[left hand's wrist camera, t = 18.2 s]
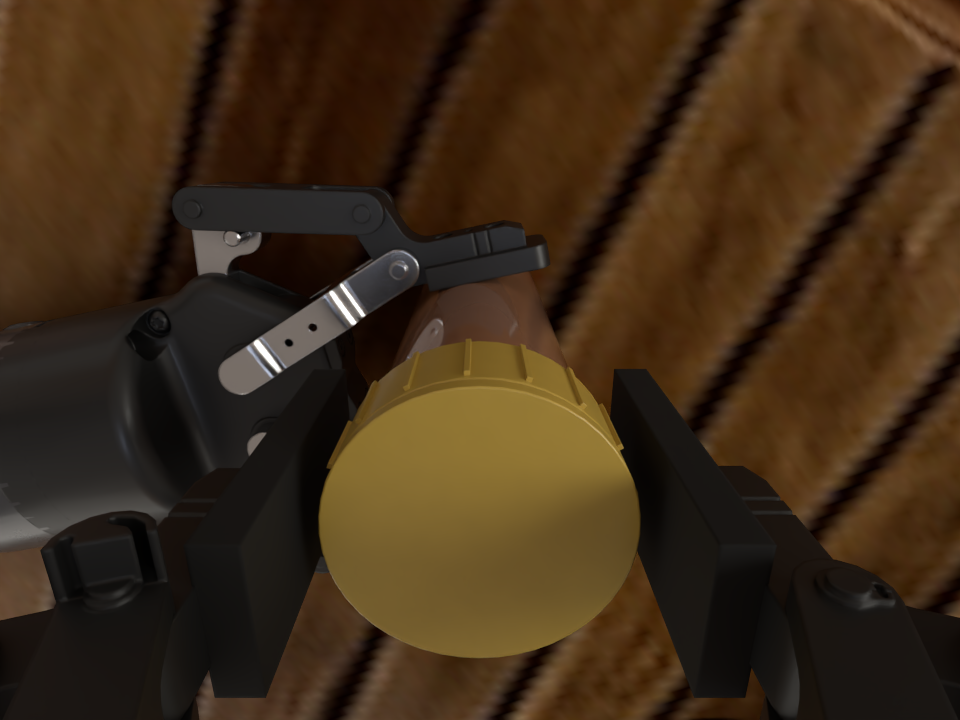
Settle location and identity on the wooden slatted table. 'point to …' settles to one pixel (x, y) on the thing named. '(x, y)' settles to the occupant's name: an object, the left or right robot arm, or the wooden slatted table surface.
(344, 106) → the wooden slatted table surface
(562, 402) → the lid
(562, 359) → the jar
